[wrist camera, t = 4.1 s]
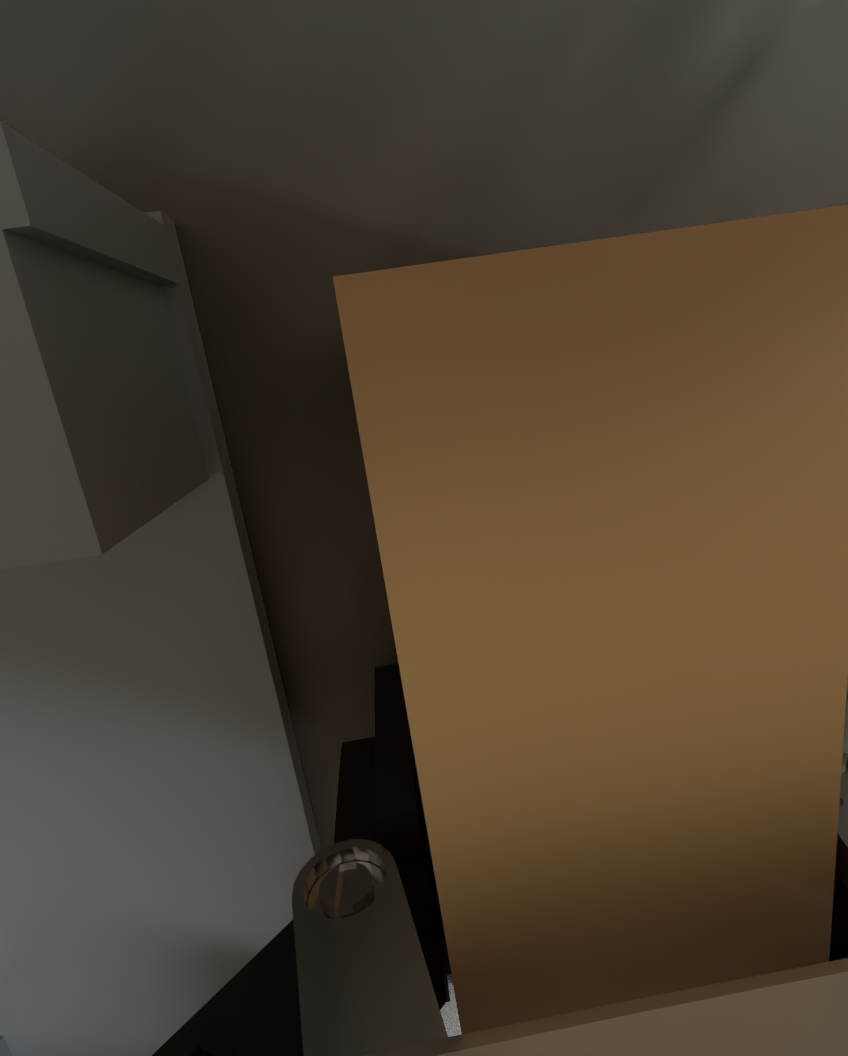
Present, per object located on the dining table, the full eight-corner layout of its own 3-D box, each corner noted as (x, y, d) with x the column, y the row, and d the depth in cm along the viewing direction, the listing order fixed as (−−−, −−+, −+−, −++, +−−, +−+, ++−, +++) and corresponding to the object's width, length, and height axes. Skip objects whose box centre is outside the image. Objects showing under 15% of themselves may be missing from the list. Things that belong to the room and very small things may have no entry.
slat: (355, 325, 10) (332, 276, 4) (589, 291, 10) (877, 199, 4) (464, 989, 14) (527, 1422, 8) (629, 957, 14) (804, 1361, 8)
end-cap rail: (-392, 297, 9) (-1130, 235, 5) (174, 219, 9) (-9, 92, 5) (21, 1137, 14) (-138, 1485, 10) (373, 1070, 15) (372, 1378, 10)
